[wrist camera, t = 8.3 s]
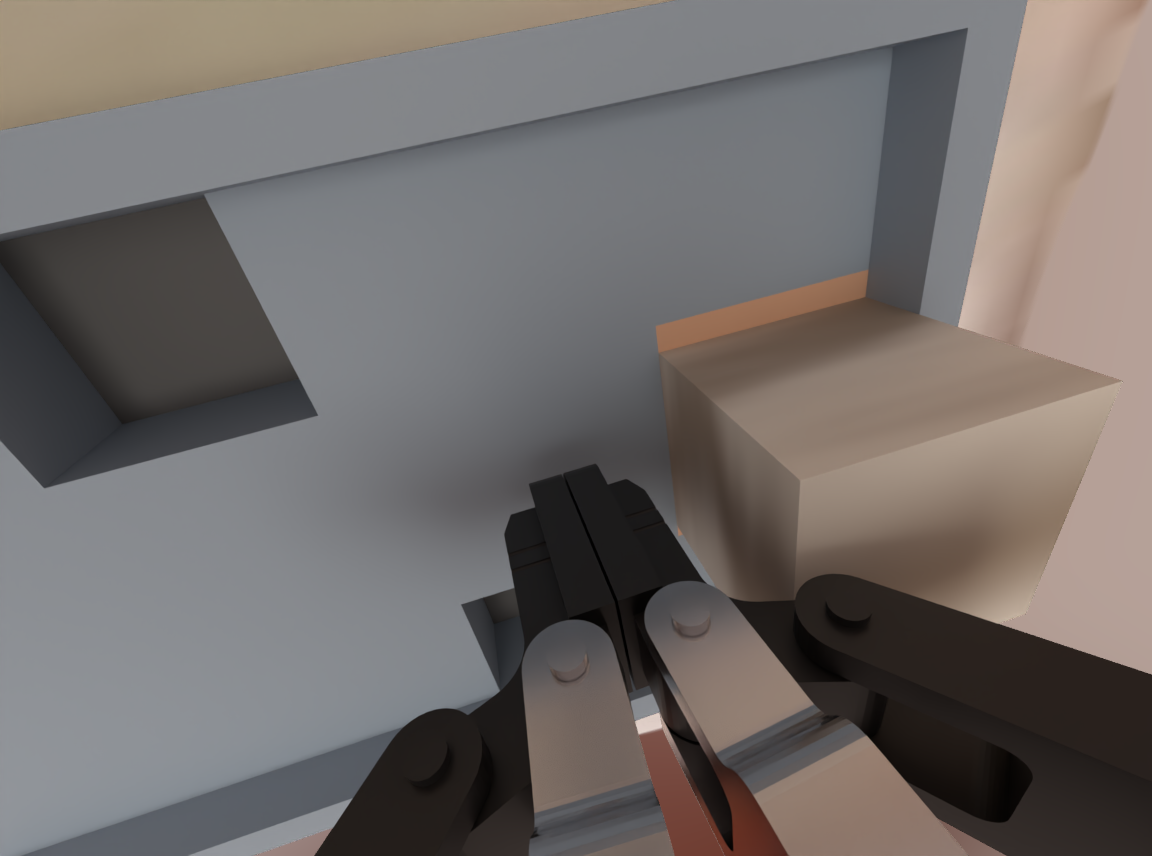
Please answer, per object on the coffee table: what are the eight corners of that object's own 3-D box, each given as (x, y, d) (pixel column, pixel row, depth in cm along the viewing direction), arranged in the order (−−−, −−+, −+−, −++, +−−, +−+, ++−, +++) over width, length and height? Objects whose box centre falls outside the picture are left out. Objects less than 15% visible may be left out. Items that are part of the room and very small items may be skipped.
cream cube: (658, 352, 11) (800, 480, 6) (865, 296, 11) (1123, 380, 7) (677, 525, 13) (787, 699, 9) (845, 472, 14) (1025, 614, 10)
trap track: (-556, 290, 8) (-1404, 401, 5) (835, 8, 11) (1043, -71, 7) (87, 766, 16) (-22, 953, 13) (802, 535, 19) (893, 629, 15)
